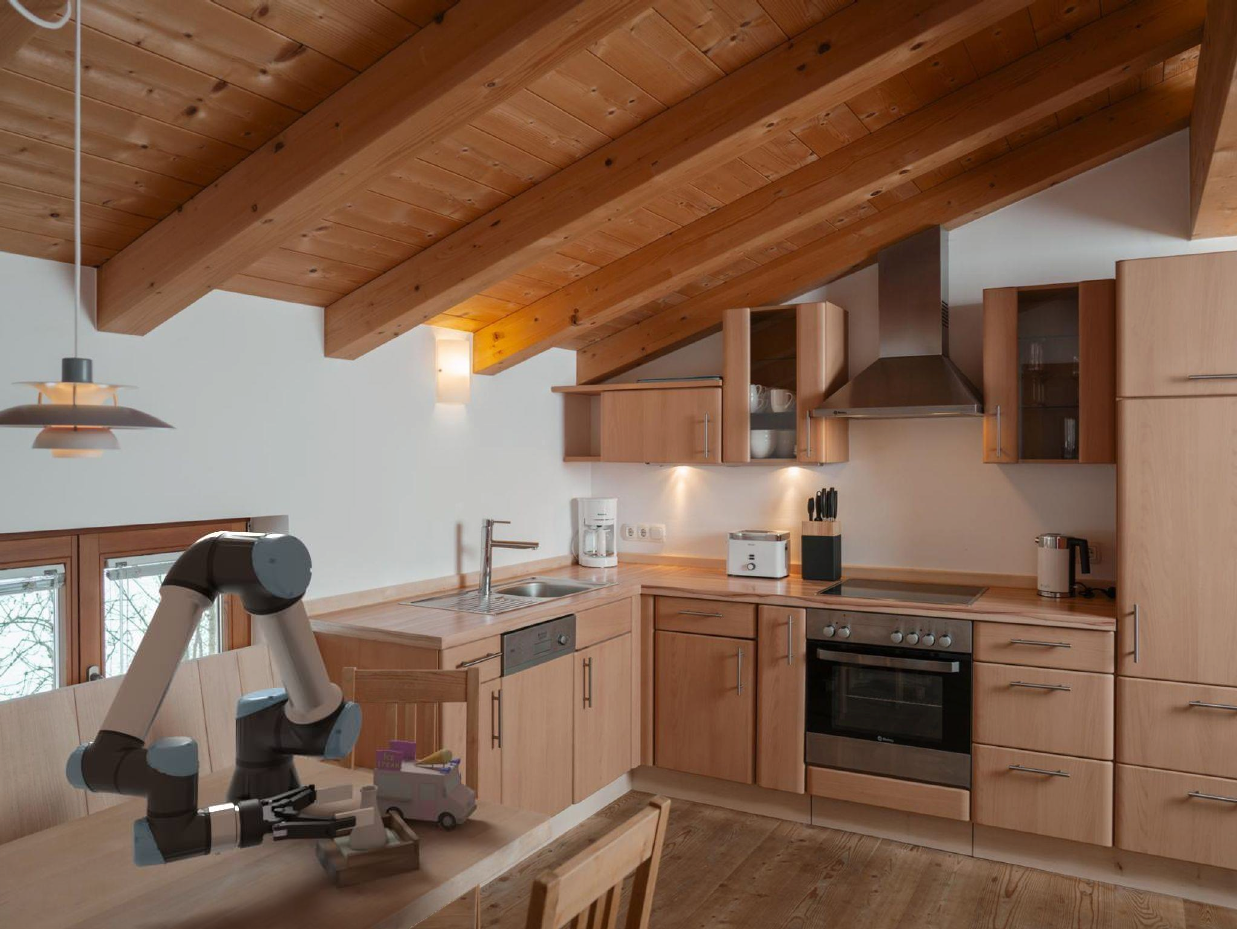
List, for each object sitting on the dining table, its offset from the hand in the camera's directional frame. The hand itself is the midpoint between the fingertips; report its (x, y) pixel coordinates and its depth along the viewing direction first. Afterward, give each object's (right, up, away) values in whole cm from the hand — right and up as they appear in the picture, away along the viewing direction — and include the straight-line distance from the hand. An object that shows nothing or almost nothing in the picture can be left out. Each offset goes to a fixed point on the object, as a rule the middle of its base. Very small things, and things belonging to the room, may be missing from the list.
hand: (362, 802), depth 163 cm
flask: (+1, -8, +1) cm, 8 cm away
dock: (+1, -11, +1) cm, 11 cm away
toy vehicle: (+7, -11, +20) cm, 24 cm away
